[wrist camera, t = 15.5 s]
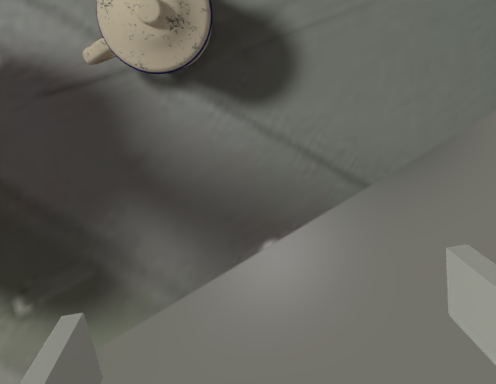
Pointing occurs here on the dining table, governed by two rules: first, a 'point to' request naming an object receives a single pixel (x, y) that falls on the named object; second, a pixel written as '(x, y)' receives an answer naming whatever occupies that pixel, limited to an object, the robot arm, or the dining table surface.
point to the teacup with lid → (151, 33)
